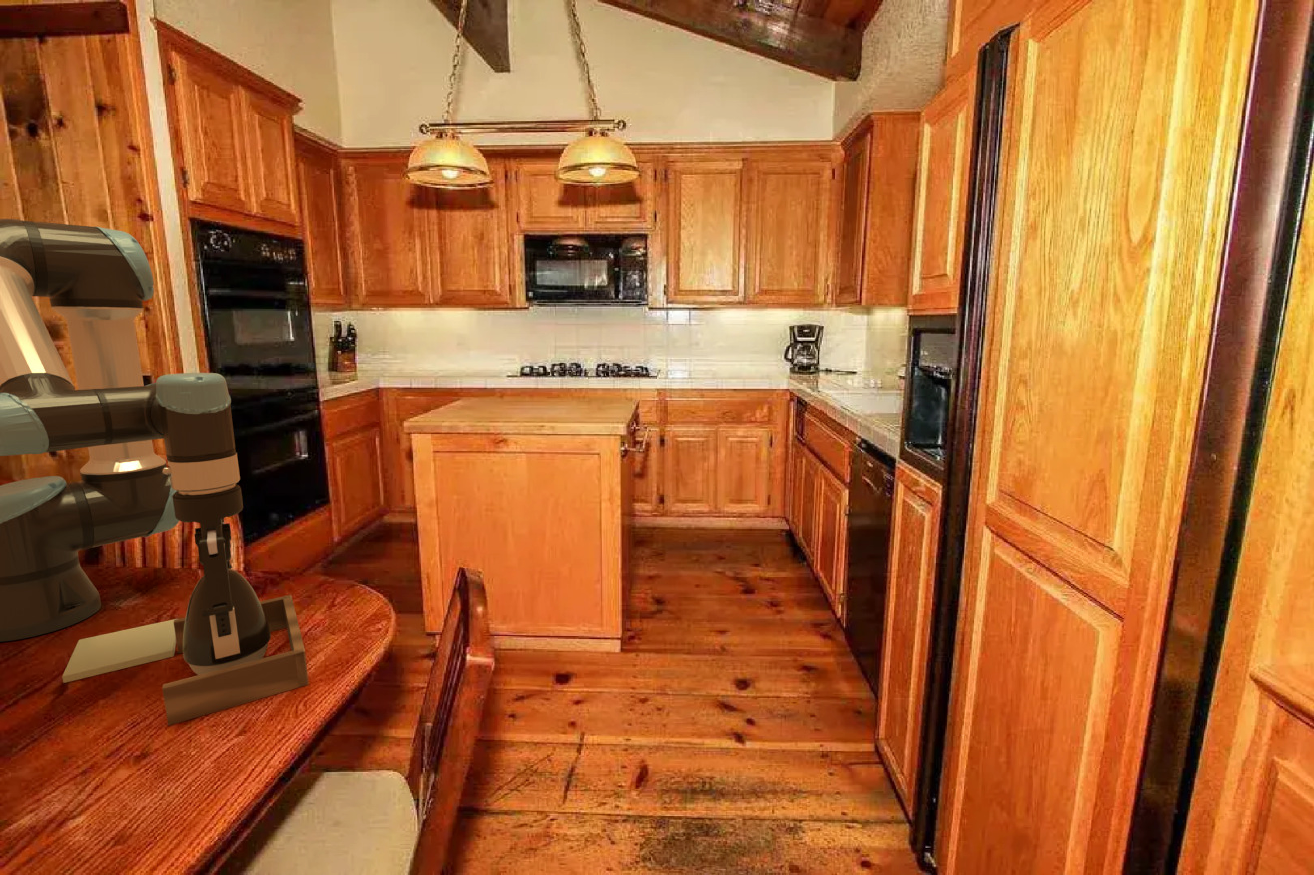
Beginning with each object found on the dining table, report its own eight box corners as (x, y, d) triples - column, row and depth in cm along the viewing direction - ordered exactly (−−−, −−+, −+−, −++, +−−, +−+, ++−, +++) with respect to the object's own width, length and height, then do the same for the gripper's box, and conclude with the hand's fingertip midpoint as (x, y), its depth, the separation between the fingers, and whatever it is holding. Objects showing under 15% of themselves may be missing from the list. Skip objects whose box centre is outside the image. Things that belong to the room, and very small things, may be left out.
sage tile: (80, 645, 93) (79, 639, 93) (178, 624, 100) (177, 618, 99) (63, 683, 83) (62, 676, 83) (173, 656, 90) (172, 650, 90)
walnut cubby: (178, 650, 92) (174, 619, 91) (294, 622, 100) (291, 594, 99) (168, 725, 74) (162, 689, 74) (308, 684, 83) (305, 651, 82)
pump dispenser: (273, 643, 94) (261, 550, 91) (274, 675, 85) (261, 574, 82) (191, 662, 88) (176, 564, 86) (183, 698, 80) (166, 591, 77)
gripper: (177, 474, 89) (197, 614, 93) (164, 513, 71) (191, 685, 75) (238, 468, 93) (255, 602, 97) (242, 502, 75) (263, 665, 79)
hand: (227, 638), depth 86 cm, fingers closed on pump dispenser, 10 cm apart
